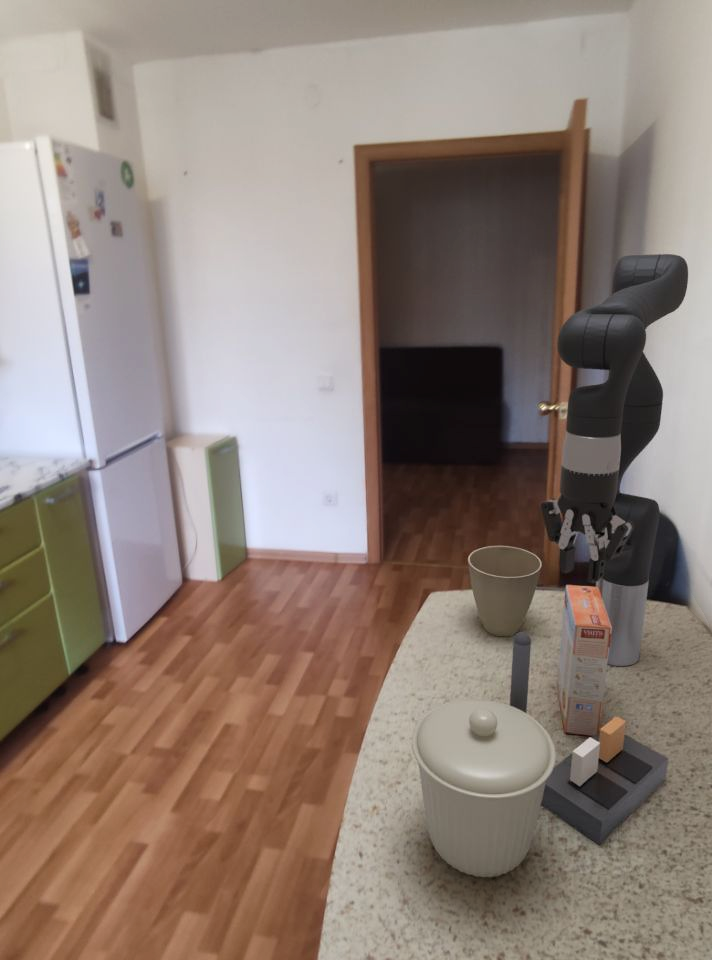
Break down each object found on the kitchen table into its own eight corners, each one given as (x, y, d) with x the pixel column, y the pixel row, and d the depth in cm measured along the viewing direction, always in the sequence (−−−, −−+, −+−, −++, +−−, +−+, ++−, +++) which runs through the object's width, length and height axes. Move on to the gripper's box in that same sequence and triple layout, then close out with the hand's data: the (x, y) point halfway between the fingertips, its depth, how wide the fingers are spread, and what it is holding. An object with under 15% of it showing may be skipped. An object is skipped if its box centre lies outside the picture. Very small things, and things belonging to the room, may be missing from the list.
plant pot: (452, 621, 144) (453, 554, 139) (506, 604, 151) (509, 540, 146) (495, 654, 132) (498, 583, 127) (552, 635, 138) (557, 566, 133)
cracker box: (601, 738, 108) (613, 627, 101) (562, 734, 109) (572, 623, 103) (589, 687, 121) (600, 585, 114) (555, 683, 122) (564, 582, 116)
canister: (544, 801, 96) (554, 678, 89) (550, 916, 79) (563, 775, 73) (420, 783, 100) (421, 664, 93) (401, 888, 83) (401, 752, 77)
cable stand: (509, 756, 105) (517, 615, 97) (547, 780, 100) (558, 634, 92) (480, 777, 101) (486, 632, 93) (518, 804, 95) (527, 653, 87)
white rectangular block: (587, 765, 96) (590, 737, 95) (597, 771, 95) (600, 742, 94) (569, 779, 94) (572, 751, 92) (579, 786, 93) (582, 757, 91)
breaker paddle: (613, 743, 100) (616, 716, 99) (622, 748, 99) (626, 721, 98) (597, 756, 98) (600, 729, 96) (606, 762, 97) (610, 734, 95)
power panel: (604, 745, 107) (607, 723, 105) (665, 780, 99) (668, 756, 98) (537, 801, 96) (539, 778, 94) (599, 845, 88) (602, 820, 87)
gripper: (653, 468, 87) (639, 585, 93) (561, 448, 98) (553, 553, 103) (624, 481, 83) (610, 602, 88) (530, 458, 93) (524, 568, 99)
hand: (580, 575), depth 96 cm, fingers open, 3 cm apart
